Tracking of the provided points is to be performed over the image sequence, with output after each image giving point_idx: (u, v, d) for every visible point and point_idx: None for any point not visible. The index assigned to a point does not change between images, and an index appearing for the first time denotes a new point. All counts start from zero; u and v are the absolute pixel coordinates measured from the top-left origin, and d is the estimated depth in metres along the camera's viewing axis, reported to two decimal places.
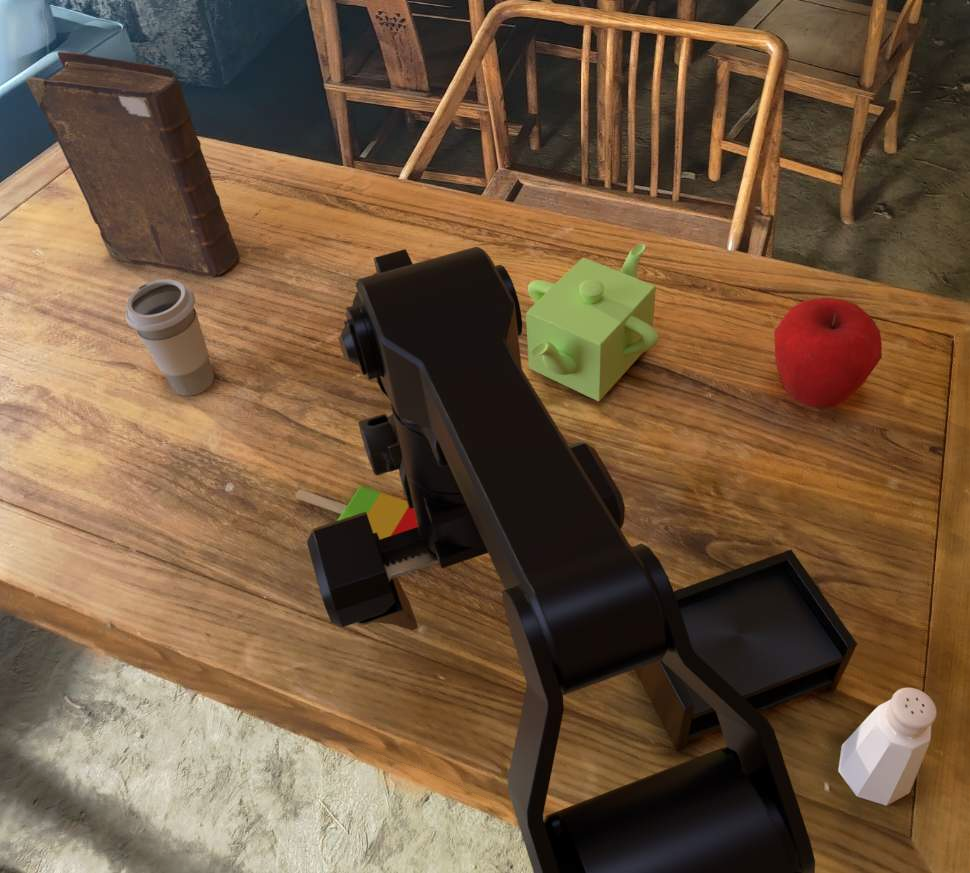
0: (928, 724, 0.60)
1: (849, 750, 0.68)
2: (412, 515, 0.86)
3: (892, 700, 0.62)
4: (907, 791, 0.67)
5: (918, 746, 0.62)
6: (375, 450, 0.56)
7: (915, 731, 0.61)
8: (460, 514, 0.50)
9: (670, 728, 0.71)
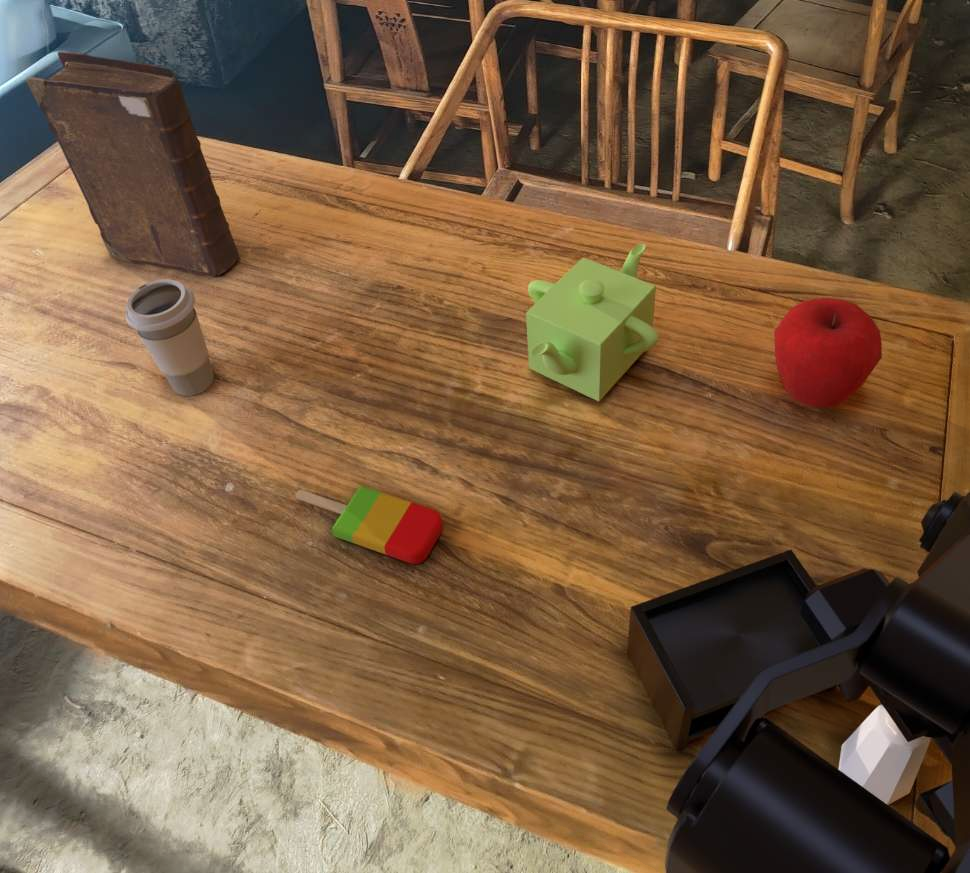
0: None
1: (849, 750, 0.68)
2: (412, 515, 0.86)
3: None
4: (907, 791, 0.67)
5: (918, 746, 0.62)
6: None
7: None
8: None
9: (670, 728, 0.71)
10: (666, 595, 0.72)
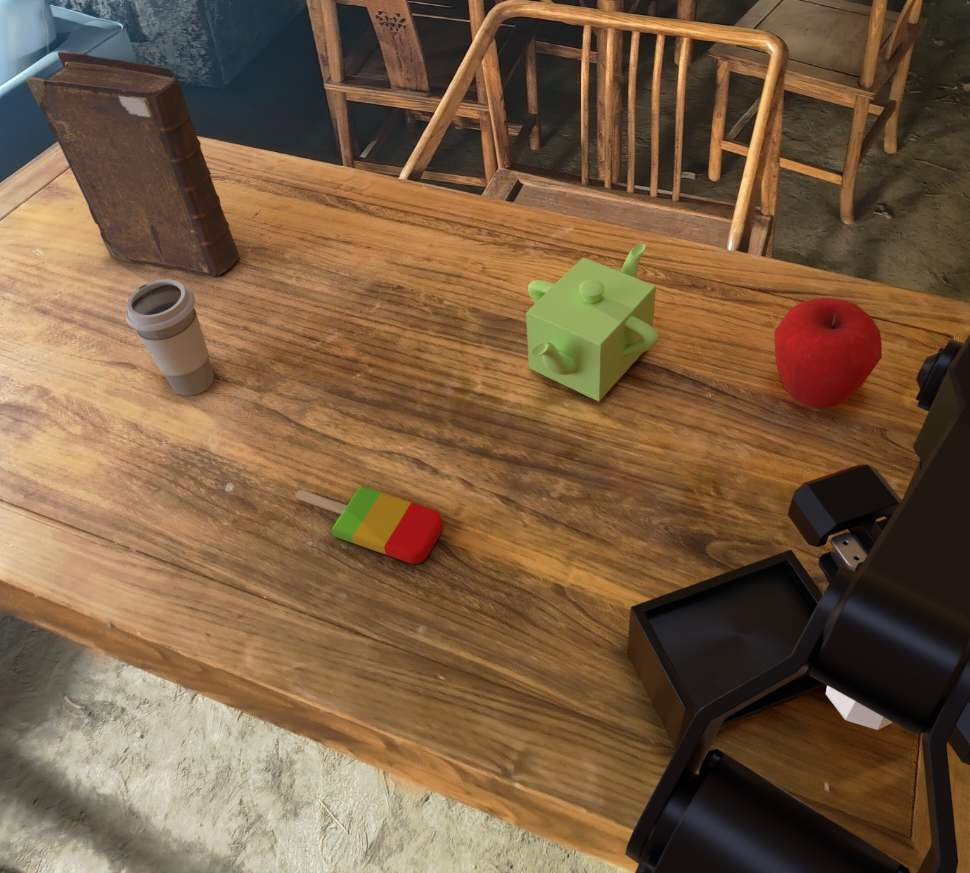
0: None
1: None
2: (412, 515, 0.86)
3: None
4: None
5: None
6: None
7: None
8: None
9: (670, 728, 0.71)
10: (666, 595, 0.72)
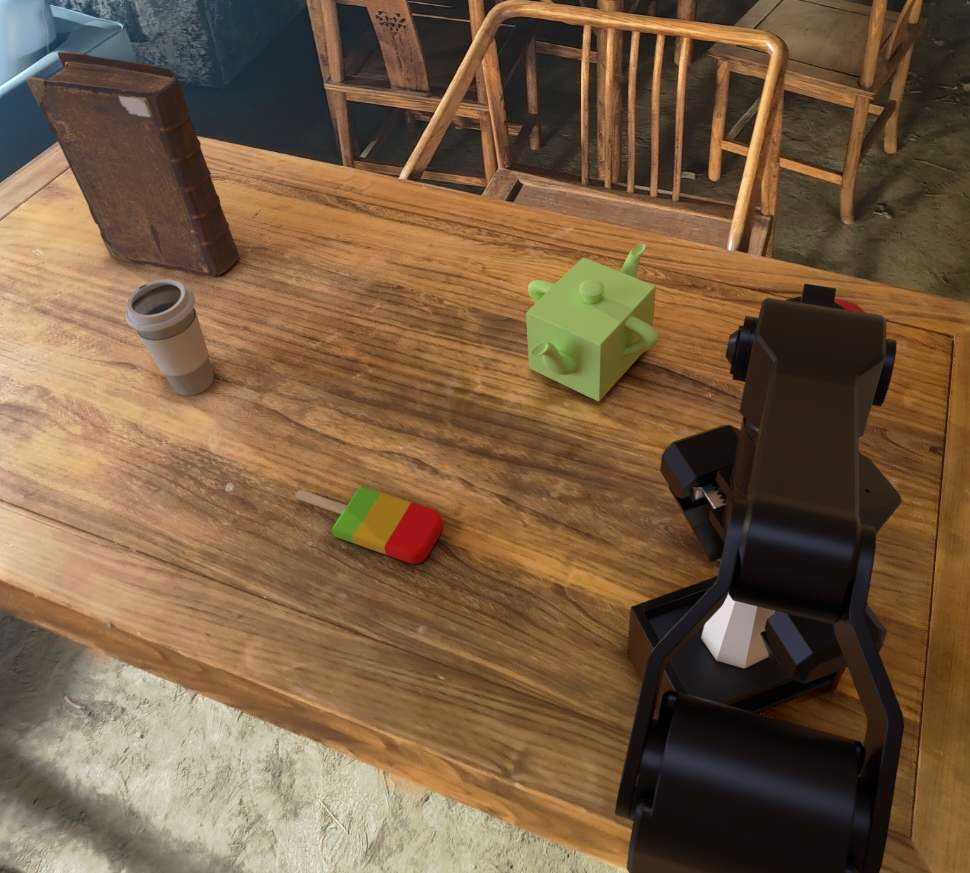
0: None
1: None
2: (412, 515, 0.86)
3: None
4: (765, 654, 0.69)
5: None
6: None
7: None
8: (729, 496, 0.57)
9: None
10: (666, 595, 0.72)
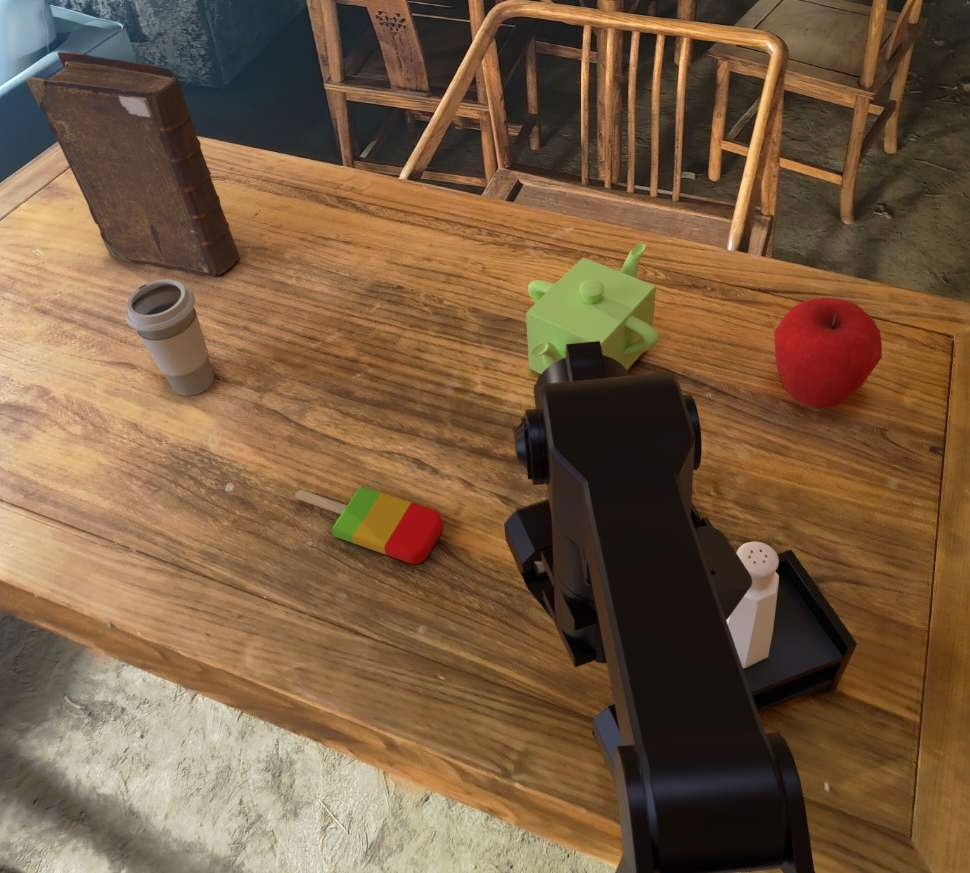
0: (769, 573, 0.62)
1: None
2: (412, 515, 0.86)
3: (737, 552, 0.63)
4: (765, 654, 0.69)
5: (763, 598, 0.63)
6: None
7: (758, 582, 0.62)
8: (551, 580, 0.51)
9: None
10: None
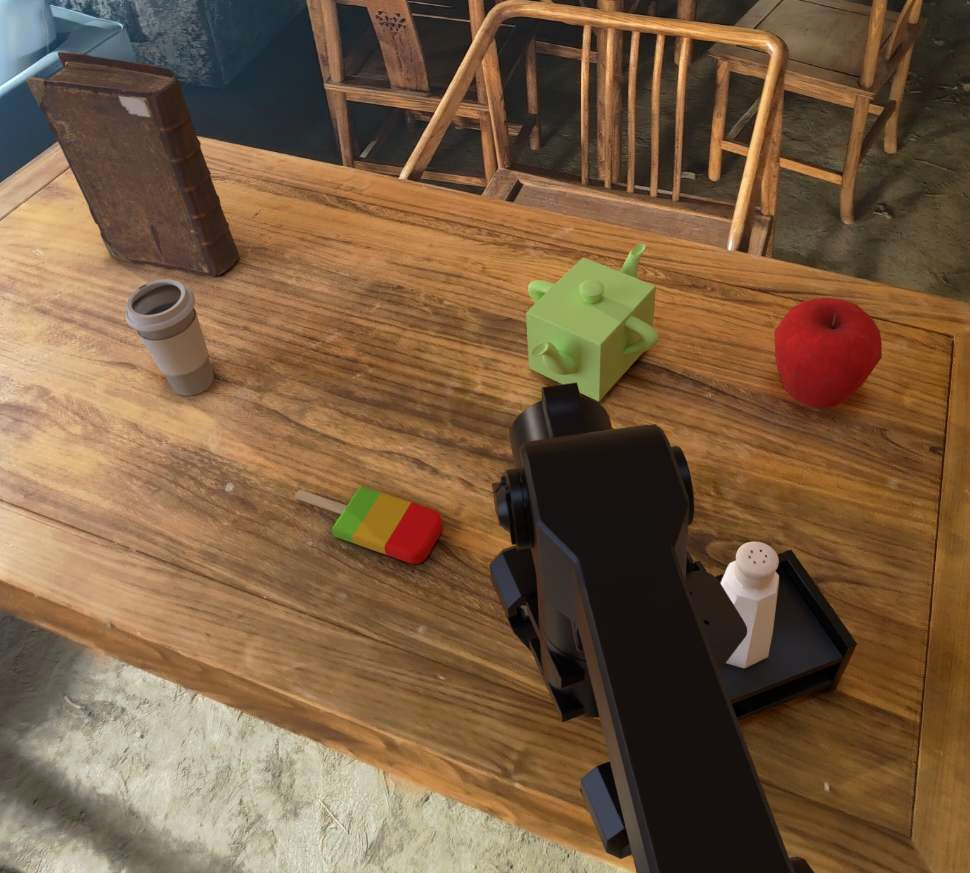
0: (769, 573, 0.62)
1: None
2: (412, 515, 0.86)
3: (737, 552, 0.63)
4: (765, 654, 0.69)
5: (763, 598, 0.63)
6: None
7: (758, 582, 0.62)
8: (537, 633, 0.49)
9: None
10: None
